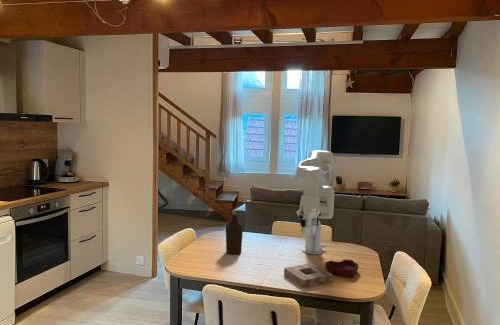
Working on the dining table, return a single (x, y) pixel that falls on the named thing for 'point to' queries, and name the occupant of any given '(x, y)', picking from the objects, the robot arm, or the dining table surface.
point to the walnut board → (308, 275)
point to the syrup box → (310, 223)
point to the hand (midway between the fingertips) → (309, 225)
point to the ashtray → (342, 268)
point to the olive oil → (234, 236)
